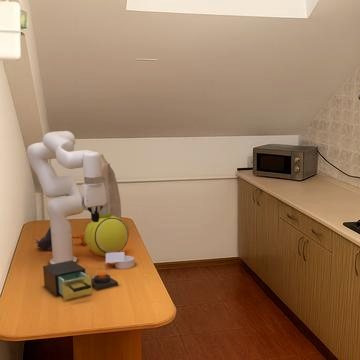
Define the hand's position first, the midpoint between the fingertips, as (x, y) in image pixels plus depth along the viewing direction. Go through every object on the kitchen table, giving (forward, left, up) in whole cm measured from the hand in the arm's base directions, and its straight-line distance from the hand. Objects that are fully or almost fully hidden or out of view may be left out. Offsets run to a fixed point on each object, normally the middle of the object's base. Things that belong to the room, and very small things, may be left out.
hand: (95, 221), depth 242 cm
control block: (+11, -3, -25) cm, 28 cm away
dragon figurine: (-55, +3, -25) cm, 61 cm away
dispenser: (+5, -17, -25) cm, 31 cm away
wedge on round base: (-7, +14, -25) cm, 30 cm away
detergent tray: (+15, -17, -24) cm, 33 cm away
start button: (+11, -3, -22) cm, 25 cm away
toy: (-27, +16, -25) cm, 40 cm away
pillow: (-68, +35, -25) cm, 80 cm away
